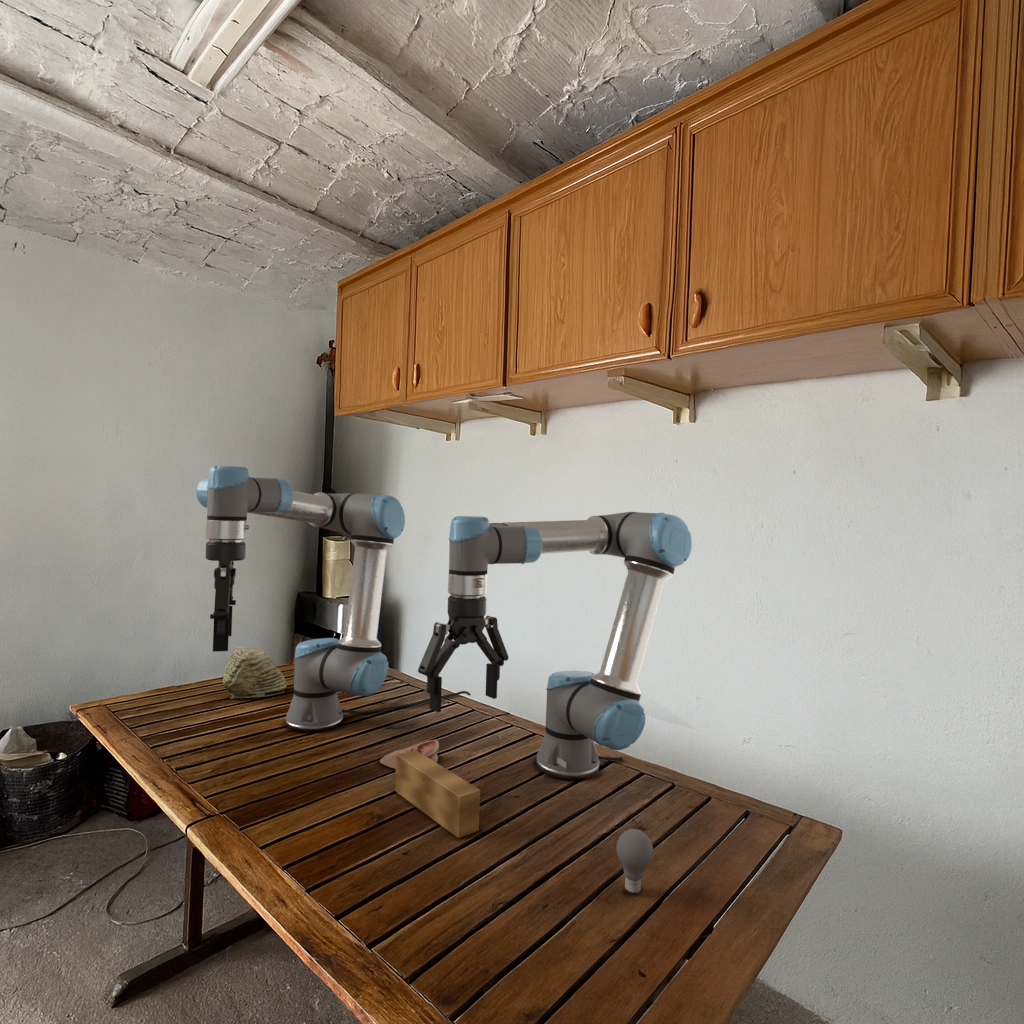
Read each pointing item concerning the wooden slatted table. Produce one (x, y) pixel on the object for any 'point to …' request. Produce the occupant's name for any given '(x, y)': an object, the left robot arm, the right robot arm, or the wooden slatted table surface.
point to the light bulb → (634, 857)
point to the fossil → (252, 674)
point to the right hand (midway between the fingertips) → (464, 703)
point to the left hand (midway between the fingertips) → (222, 643)
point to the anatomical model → (424, 748)
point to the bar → (438, 793)
